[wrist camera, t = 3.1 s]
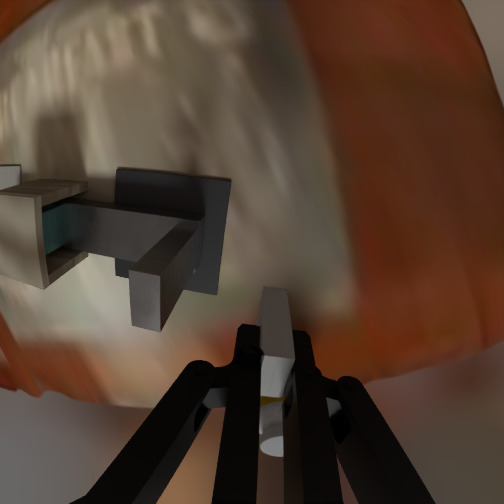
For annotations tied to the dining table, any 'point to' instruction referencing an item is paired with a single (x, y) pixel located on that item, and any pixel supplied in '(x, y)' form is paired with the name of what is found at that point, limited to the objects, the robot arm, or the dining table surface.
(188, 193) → the grey shoe shape
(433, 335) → the dining table surface
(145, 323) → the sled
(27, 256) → the tunnel
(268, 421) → the pill bottle
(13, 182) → the mat
